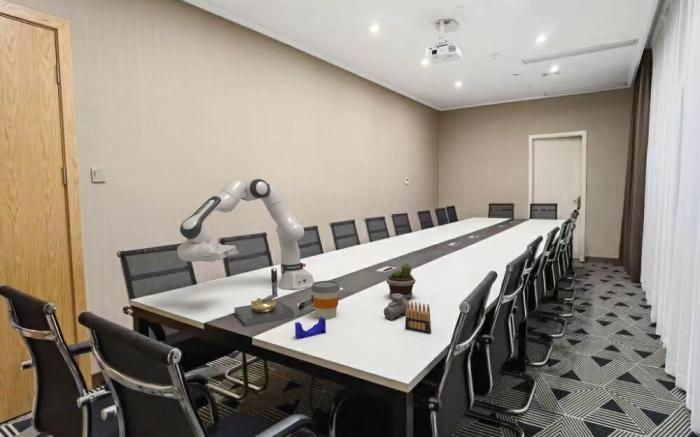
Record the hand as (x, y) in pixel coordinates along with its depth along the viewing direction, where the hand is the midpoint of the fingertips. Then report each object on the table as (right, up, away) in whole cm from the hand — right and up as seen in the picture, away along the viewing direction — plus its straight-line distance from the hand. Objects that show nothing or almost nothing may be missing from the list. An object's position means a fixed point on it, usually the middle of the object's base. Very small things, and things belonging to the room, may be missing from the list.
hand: (238, 252), depth 190 cm
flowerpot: (+81, -26, +16) cm, 86 cm away
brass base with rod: (+15, -25, -6) cm, 30 cm away
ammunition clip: (+82, -29, -31) cm, 92 cm away
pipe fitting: (+75, -28, -13) cm, 81 cm away
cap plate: (+14, -28, -9) cm, 33 cm away
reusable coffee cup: (+43, -28, -11) cm, 53 cm away
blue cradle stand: (+38, -30, -33) cm, 59 cm away
